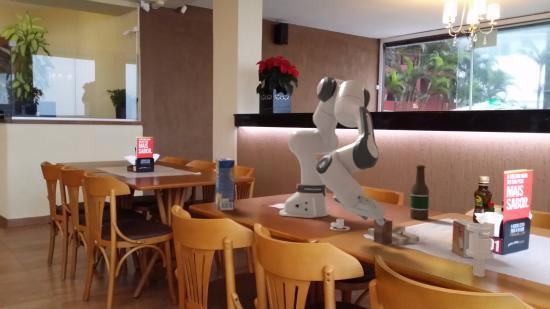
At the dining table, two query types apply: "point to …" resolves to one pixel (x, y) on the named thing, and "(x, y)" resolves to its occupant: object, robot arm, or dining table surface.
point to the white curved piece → (339, 224)
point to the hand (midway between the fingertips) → (373, 221)
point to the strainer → (480, 246)
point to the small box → (461, 237)
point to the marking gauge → (385, 231)
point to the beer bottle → (419, 196)
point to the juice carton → (225, 184)
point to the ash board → (400, 237)
